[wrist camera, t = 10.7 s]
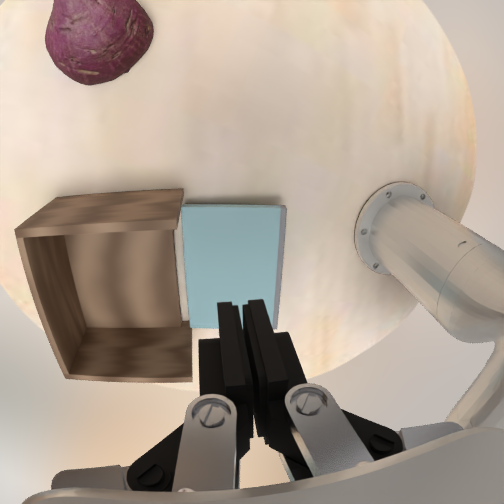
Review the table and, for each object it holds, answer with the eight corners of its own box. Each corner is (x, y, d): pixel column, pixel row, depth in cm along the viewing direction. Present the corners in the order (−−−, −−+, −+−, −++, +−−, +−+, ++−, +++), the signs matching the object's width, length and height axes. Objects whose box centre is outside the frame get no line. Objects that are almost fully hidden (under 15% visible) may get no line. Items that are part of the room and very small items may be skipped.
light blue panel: (183, 204, 33) (285, 205, 33) (191, 322, 39) (276, 323, 39) (181, 207, 32) (286, 208, 32) (190, 327, 38) (277, 329, 38)
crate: (183, 188, 33) (176, 219, 24) (192, 325, 41) (192, 382, 32) (56, 197, 31) (14, 229, 22) (85, 326, 38) (65, 378, 30)
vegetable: (98, 3, 25) (58, -75, 10) (172, 23, 27) (158, -71, 12) (48, 76, 25) (-25, 20, 11) (121, 102, 27) (64, 35, 13)
